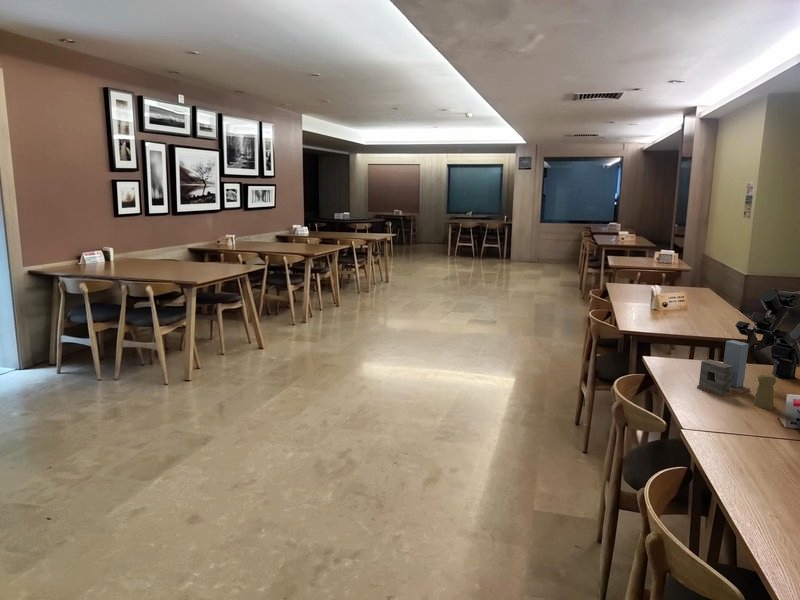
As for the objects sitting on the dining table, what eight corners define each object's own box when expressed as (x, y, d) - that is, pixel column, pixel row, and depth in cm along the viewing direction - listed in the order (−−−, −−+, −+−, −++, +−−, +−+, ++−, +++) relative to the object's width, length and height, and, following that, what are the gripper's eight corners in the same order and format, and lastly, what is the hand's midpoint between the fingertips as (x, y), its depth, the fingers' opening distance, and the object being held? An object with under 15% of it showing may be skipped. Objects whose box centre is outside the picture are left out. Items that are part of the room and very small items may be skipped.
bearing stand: (724, 382, 218) (727, 355, 216) (749, 390, 209) (753, 362, 207) (696, 388, 211) (699, 360, 209) (722, 396, 203) (725, 368, 201)
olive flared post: (777, 408, 192) (782, 377, 190) (759, 408, 192) (764, 377, 190) (766, 402, 198) (771, 371, 196) (749, 401, 198) (753, 371, 196)
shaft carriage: (727, 381, 216) (733, 340, 213) (743, 386, 210) (748, 344, 207) (708, 385, 211) (713, 343, 208) (723, 390, 206) (729, 347, 203)
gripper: (741, 300, 221) (719, 330, 218) (791, 309, 204) (768, 342, 202) (751, 318, 226) (730, 348, 223) (801, 328, 209) (779, 361, 207)
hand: (750, 349), depth 214 cm, fingers open, 3 cm apart
